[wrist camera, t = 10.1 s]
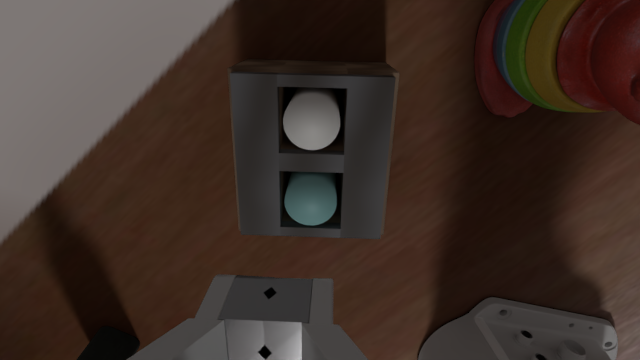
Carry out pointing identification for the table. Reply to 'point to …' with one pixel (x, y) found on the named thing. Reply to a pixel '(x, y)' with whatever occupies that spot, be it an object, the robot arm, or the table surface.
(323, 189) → the teal peg
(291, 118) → the grey peg
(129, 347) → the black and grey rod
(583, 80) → the stacking bear
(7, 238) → the table surface
